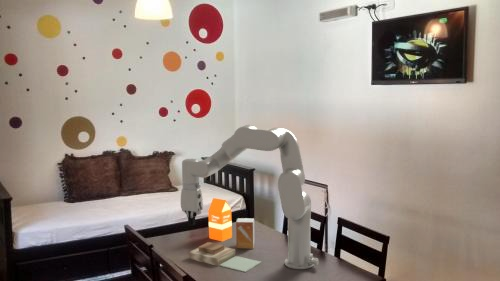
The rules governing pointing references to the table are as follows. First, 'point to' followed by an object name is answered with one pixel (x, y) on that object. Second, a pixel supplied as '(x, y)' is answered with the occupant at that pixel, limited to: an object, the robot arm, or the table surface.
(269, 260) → the table surface
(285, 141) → the robot arm
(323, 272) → the table surface
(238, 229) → the small box
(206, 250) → the tile
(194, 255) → the deck
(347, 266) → the table surface
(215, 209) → the orange juice
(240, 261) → the mat
